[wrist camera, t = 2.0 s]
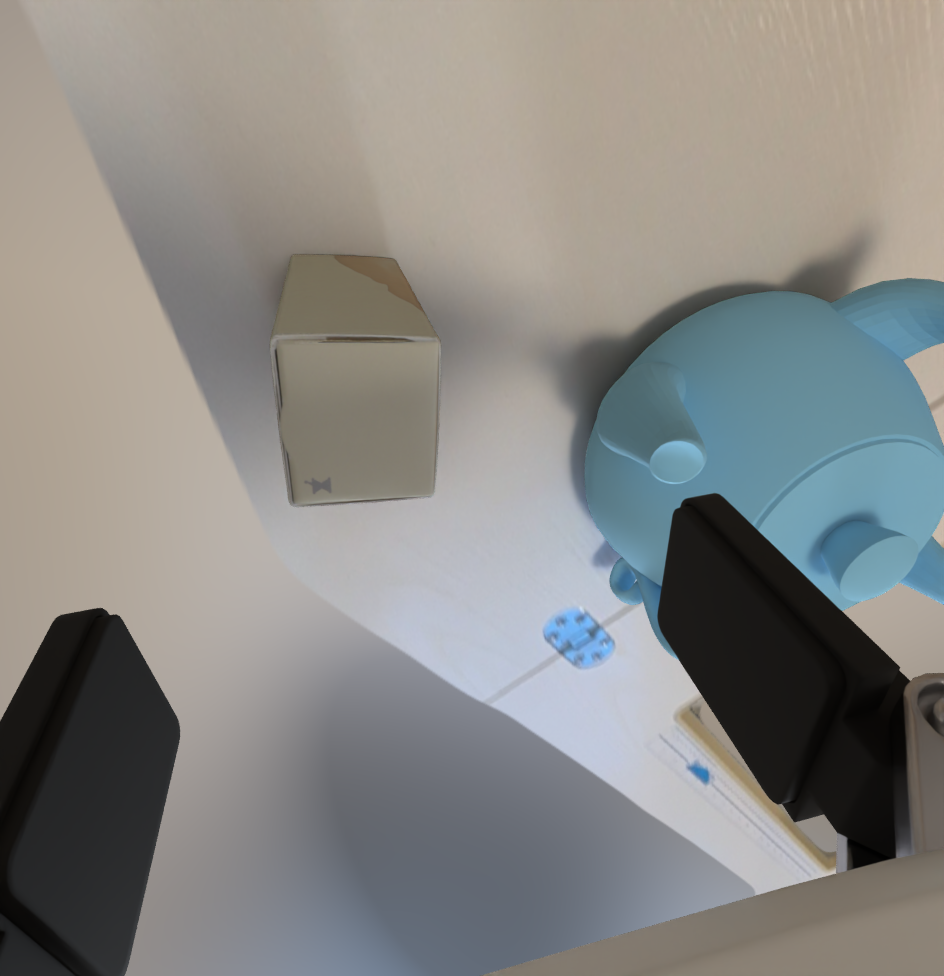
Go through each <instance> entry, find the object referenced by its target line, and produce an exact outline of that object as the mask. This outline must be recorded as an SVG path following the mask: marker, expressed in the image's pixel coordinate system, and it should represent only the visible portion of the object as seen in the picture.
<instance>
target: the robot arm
mask: <svg viewBox="0 0 944 976" xmlns="http://www.w3.org/2000/svg"><path fill="white" fill-rule="evenodd" d="M657 619H658V624H659V628H660V630H661V633H662V634H663V636H664V638H665V639H666V641H667V642H668V644H669V645H670V647H671V648H672V650H673V651H674V653H675V655H676V656H677V658H678V659H679V661H680V662H681V664H682V665H683V667H684V668H685V670H686V672H687V673H688V675H689V676H690V678H691V679H692V681H693V682H694V684H695V685H696V687H697V688H698V690H699V692H700V693H701V695H702V696H703V698H704V699H705V701H706V702H707V704H708V705H709V707H710V709H711V710H712V712H713V713H714V715H715V716H716V718H717V719H718V721H719V722H720V724H721V725H722V727H723V729H724V730H725V732H726V733H727V735H728V736H729V738H730V739H731V741H732V742H733V744H734V745H735V747H736V749H737V750H738V752H739V753H740V755H741V756H742V758H743V759H744V761H745V762H746V764H747V765H748V767H749V769H750V770H751V772H752V773H753V775H754V776H755V778H756V779H757V781H758V783H759V784H760V786H761V787H762V789H763V790H764V792H765V793H766V795H767V796H768V797H769V798H770V799H771V800H772V801H773V802H774V803H776V804H782V805H783V806H784V808H785V809H786V811H787V812H788V814H789V815H790V817H791V818H792V820H793V821H794V822H797V821H801V820H805V819H809V818H812V817H816V816H819V815H823V814H824V815H825V816H826V818H827V819H828V820H829V822H830V823H831V824H832V826H833V827H834V829H835V830H836V832H837V860H836V874H833V875H829V876H826V877H822V878H818V879H814V880H811V881H807V882H803V883H799V884H796V885H792V886H788V887H784V888H781V889H777V890H774V891H770V892H767V893H764V894H760V895H757V896H753V897H750V898H746V899H743V900H740V901H736V902H732V903H729V904H726V905H722V906H718V907H715V908H712V909H708V910H705V911H701V912H698V913H694V914H691V915H687V916H684V917H680V918H677V919H673V920H670V921H666V922H663V923H659V924H656V925H652V926H649V927H646V928H642V929H639V930H635V931H632V932H628V933H625V934H621V935H618V936H614V937H611V938H608V939H604V940H601V941H597V942H594V943H590V944H587V945H584V946H580V947H577V948H574V949H570V950H567V951H563V952H560V953H556V954H553V955H550V956H546V957H543V958H539V959H536V960H533V961H529V962H526V963H522V964H519V965H515V966H512V967H509V968H505V969H502V970H498V971H495V972H492V973H488V974H485V975H482V976H944V673H929V674H928V673H927V674H923V675H921V676H918V677H915V678H913V679H912V680H911V681H910V680H909V679H907V677H906V676H905V675H903V674H902V673H901V672H900V671H899V669H900V667H899V666H898V665H897V664H896V663H895V662H894V661H893V660H892V659H891V658H890V657H889V656H888V655H887V654H886V653H885V652H884V651H883V650H881V648H880V647H879V646H878V645H877V644H875V643H874V642H873V641H872V640H871V639H870V638H869V637H868V636H867V635H866V634H865V633H864V632H863V631H862V630H861V629H860V628H859V627H858V626H857V625H856V624H855V623H854V622H853V621H852V620H851V619H849V617H847V616H846V615H845V614H844V613H843V612H842V611H841V610H840V609H839V608H838V607H837V606H836V605H835V604H834V603H833V602H832V601H831V600H830V599H829V598H828V597H827V596H826V595H825V594H824V593H823V592H822V591H820V590H819V589H818V588H817V587H816V586H815V585H814V584H813V583H812V582H811V581H810V580H809V579H808V578H807V577H806V576H805V575H804V574H803V573H802V572H801V571H800V570H799V569H798V568H797V567H796V566H795V565H793V564H792V563H791V562H790V561H789V560H788V559H787V558H786V557H785V556H784V555H783V554H782V553H781V552H780V551H779V550H778V549H777V548H776V547H775V546H774V545H773V544H772V543H771V542H770V541H769V540H768V539H766V538H765V537H764V536H763V535H762V534H761V533H760V532H759V531H758V530H757V529H756V528H755V527H754V526H753V525H752V524H751V523H750V522H749V521H748V520H747V519H746V518H745V517H744V516H743V515H742V514H741V513H739V512H738V511H737V510H736V509H735V508H734V507H733V506H732V505H731V504H730V503H729V502H728V501H727V500H726V499H725V498H724V497H723V496H721V495H720V494H717V493H712V494H706V495H701V496H696V497H690V498H686V499H684V500H683V501H682V503H681V506H680V508H677V509H675V510H674V512H673V515H672V522H671V528H670V535H669V541H668V548H667V554H666V561H665V568H664V574H663V581H662V587H661V594H660V600H659V607H658V614H657ZM179 740H180V726H179V721H178V719H177V716H176V715H175V713H174V711H173V709H172V708H171V706H170V704H169V702H168V700H167V698H166V697H165V695H164V693H163V691H162V690H161V688H160V686H159V684H158V682H157V681H156V679H155V677H154V675H153V674H152V672H151V670H150V668H149V666H148V665H147V663H146V661H145V659H144V658H143V656H142V654H141V652H140V651H139V649H138V647H137V645H136V643H135V642H134V640H133V638H132V636H131V634H130V633H129V631H128V629H127V627H126V625H125V624H124V622H123V620H122V619H121V617H120V616H118V615H109V614H108V612H107V611H106V610H104V609H103V608H96V609H90V610H85V611H80V612H74V613H69V614H64V615H60V616H58V617H57V618H56V619H55V620H54V621H53V623H52V625H51V626H50V629H49V630H48V632H47V634H46V636H45V638H44V640H43V642H42V643H41V645H40V647H39V649H38V651H37V653H36V655H35V657H34V659H33V661H32V662H31V664H30V666H29V668H28V670H27V672H26V674H25V676H24V678H23V680H22V681H21V683H20V685H19V687H18V689H17V691H16V693H15V694H14V696H13V698H12V700H11V702H10V704H9V706H8V708H7V710H6V712H5V713H4V715H3V717H2V719H1V721H0V976H124V975H125V973H126V971H127V967H128V964H129V960H130V955H131V951H132V946H133V942H134V938H135V933H136V929H137V924H138V920H139V916H140V911H141V907H142V902H143V898H144V894H145V890H146V885H147V880H148V876H149V872H150V867H151V863H152V859H153V855H154V850H155V846H156V841H157V837H158V832H159V828H160V824H161V819H162V815H163V811H164V806H165V802H166V798H167V793H168V789H169V784H170V780H171V775H172V771H173V767H174V762H175V758H176V753H177V749H178V745H179Z"/></svg>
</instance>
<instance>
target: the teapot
mask: <svg viewBox="0 0 944 976" xmlns="http://www.w3.org/2000/svg"><path fill="white" fill-rule="evenodd" d="M941 343H944V282H940V281H935V280H928V279H913V278H907V279H898V280H890V281H882V282H879V283H876V284H873V285H870V286H867V287H863V288H860V289H858V290H856V291H854V292H852V293H850V294H848V295H846V296H844V297H842V298H840V299H838V300H836V301H834V302H832V303H830V302H828V301H825V300H823V299H820V298H817V297H815V296H812V295H809V294H804V293H798V292H793V291H768V292H761V293H754V294H747V295H741V296H738V297H734V298H731V299H727V300H723V301H721V302H718V303H716V304H714V305H711V306H709V307H706V308H704V309H702V310H700V311H698V312H696V313H695V314H693V315H691V316H689V317H687V318H685V319H684V320H682V321H681V322H679V323H678V324H676V325H675V326H673V327H672V328H671V329H669V330H668V331H666V332H665V333H664V334H662V335H661V336H660V337H659V338H658V339H657V340H655V341H654V342H653V343H652V344H651V345H650V346H649V347H647V348H646V349H645V350H644V351H643V352H642V353H641V355H640V356H639V357H638V358H637V359H636V360H635V361H634V362H633V363H632V364H631V365H630V366H629V368H628V369H627V370H626V372H625V373H624V374H623V376H621V377H620V378H619V379H618V380H617V381H616V382H615V384H614V385H613V386H612V387H611V388H610V389H609V391H608V392H607V394H606V396H605V397H604V399H603V400H602V402H601V405H600V408H599V410H598V413H597V419H596V422H595V424H594V427H593V430H592V433H591V436H590V439H589V442H588V447H587V453H586V458H585V472H584V480H585V490H586V499H587V503H588V507H589V510H590V514H591V516H592V518H593V520H594V522H595V524H596V526H597V528H598V529H599V531H600V532H601V533H602V535H603V536H604V538H605V539H606V540H607V542H608V543H609V544H610V545H611V547H612V548H613V549H614V550H615V551H616V552H617V553H618V554H619V555H620V556H621V557H622V558H620V559H619V560H618V561H617V562H616V564H615V565H614V567H613V569H612V572H611V575H610V587H611V589H612V591H613V593H614V594H615V595H616V597H617V598H619V599H620V600H621V601H622V602H624V603H627V604H630V605H636V604H640V603H641V602H644V606H645V609H646V612H647V615H648V618H649V621H650V624H651V626H652V629H653V631H654V633H655V635H656V637H657V639H658V640H659V642H660V644H661V645H662V646H663V648H664V649H665V650H666V651H667V652H668V653H669V654H670V655H672V656H673V657H674V658H676V659H678V658H677V656H676V655H675V653H674V651H673V650H672V648H671V647H670V645H669V644H668V642H667V641H666V639H665V638H664V636H663V634H662V633H661V630H660V628H659V624H658V619H657V614H658V607H659V600H660V594H661V587H662V581H663V574H664V568H665V561H666V554H667V548H668V541H669V535H670V528H671V522H672V515H673V512H674V510H675V509H677V508H680V506H681V503H682V501H683V500H684V499H686V498H690V497H696V496H701V495H706V494H712V493H717V494H720V495H721V496H723V497H724V498H725V499H726V500H727V501H728V502H729V503H730V504H731V505H732V506H733V507H734V508H735V509H736V510H737V511H738V512H739V513H741V514H742V515H743V516H744V517H745V518H746V519H747V520H748V521H749V522H750V523H751V524H752V525H753V526H754V527H755V528H756V529H757V530H758V531H759V532H760V533H761V534H762V535H763V536H764V537H765V538H766V539H768V540H769V541H770V542H771V543H772V544H773V545H774V546H775V547H776V548H777V549H778V550H779V551H780V552H781V553H782V554H783V555H784V556H785V557H786V558H787V559H788V560H789V561H790V562H791V563H792V564H793V565H795V566H796V567H797V568H798V569H799V570H800V571H801V572H802V573H803V574H804V575H805V576H806V577H807V578H808V579H809V580H810V581H811V582H812V583H813V584H814V585H815V586H816V587H817V588H818V589H819V590H820V591H822V592H823V593H824V594H825V595H826V596H827V597H828V598H829V599H830V600H831V601H832V602H833V603H834V604H835V605H836V606H837V607H838V608H839V609H840V610H841V611H843V610H845V609H847V608H849V607H851V606H853V605H855V604H857V603H859V602H861V601H865V600H869V599H872V598H875V597H877V596H879V595H881V594H883V593H885V592H887V591H888V590H890V589H891V588H893V587H894V586H895V585H897V584H898V583H902V584H903V585H906V586H908V587H910V588H912V589H914V590H916V591H918V592H920V593H922V594H924V595H926V596H928V597H930V598H932V599H934V600H936V601H938V602H939V603H941V604H943V605H944V549H943V548H942V546H941V545H940V544H939V543H938V542H937V541H936V540H935V539H934V538H933V537H932V534H933V533H934V531H935V529H936V528H937V526H938V524H939V522H940V519H941V517H942V515H943V512H944V446H943V443H942V440H941V438H940V435H939V432H938V429H937V427H936V424H935V421H934V419H933V416H932V414H931V411H930V408H929V406H928V403H927V401H926V398H925V396H924V394H923V392H922V390H921V389H920V387H919V385H918V383H917V381H916V379H915V377H914V376H913V374H912V373H911V371H910V370H909V368H908V367H907V365H906V364H905V363H904V361H903V360H905V359H907V358H909V357H911V356H913V355H914V354H916V353H918V352H920V351H922V350H925V349H927V348H929V347H931V346H934V345H937V344H941ZM636 579H637V581H636V582H635V580H636ZM634 582H635V583H634ZM678 660H679V659H678Z"/></svg>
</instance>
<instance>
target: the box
mask: <svg viewBox="0 0 944 976" xmlns="http://www.w3.org/2000/svg"><path fill="white" fill-rule="evenodd" d="M270 353H271V364H272V374H273V385H274V393H275V402H276V410H277V418H278V426H279V435H280V443H281V450H282V457H283V464H284V471H285V478H286V485H287V492H288V500H289V503H290V505H291V506H292V507H304V506H324V505H343V504H358V503H374V502H385V501H397V500H407V499H420V498H429V497H432V496H433V495H434V493H435V483H436V471H437V457H438V439H439V416H440V377H441V342H440V339H439V337H438V336H437V334H436V332H435V331H434V329H433V327H432V325H431V324H430V321H429V320H428V318H427V316H426V314H425V312H424V311H423V309H422V307H421V305H420V303H419V301H418V300H417V298H416V296H415V294H414V292H413V291H412V289H411V287H410V285H409V283H408V281H407V279H406V278H405V276H404V274H403V273H402V271H401V269H400V267H399V266H398V264H397V262H396V260H395V259H392V258H379V257H365V256H345V255H307V254H295V255H293V256H292V257H291V259H290V263H289V267H288V271H287V275H286V278H285V282H284V286H283V290H282V295H281V298H280V302H279V306H278V310H277V314H276V318H275V322H274V326H273V330H272V334H271V340H270Z"/></svg>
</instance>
